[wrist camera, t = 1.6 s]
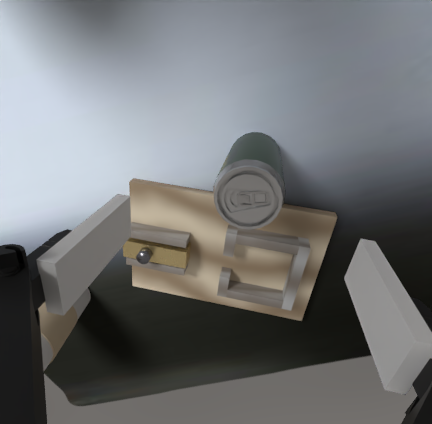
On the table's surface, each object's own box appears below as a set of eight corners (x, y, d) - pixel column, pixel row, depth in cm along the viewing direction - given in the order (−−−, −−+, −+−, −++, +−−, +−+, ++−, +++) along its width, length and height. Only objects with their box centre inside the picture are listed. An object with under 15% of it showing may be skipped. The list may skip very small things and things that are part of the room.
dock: (133, 178, 35) (121, 187, 32) (335, 212, 32) (341, 226, 30) (136, 280, 42) (126, 295, 39) (300, 314, 40) (303, 332, 37)
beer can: (279, 127, 29) (284, 159, 19) (281, 177, 32) (287, 231, 21) (227, 133, 30) (205, 166, 20) (233, 181, 33) (216, 233, 22)
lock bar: (130, 231, 37) (118, 245, 34) (191, 242, 36) (183, 258, 33) (131, 246, 38) (119, 262, 35) (189, 258, 37) (182, 274, 34)
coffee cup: (100, 280, 43) (26, 373, 30) (94, 319, 47) (26, 415, 34) (45, 259, 43) (-55, 342, 30) (43, 300, 48) (-45, 389, 34)
